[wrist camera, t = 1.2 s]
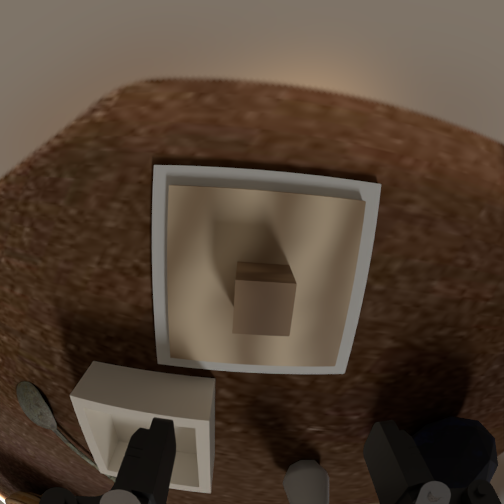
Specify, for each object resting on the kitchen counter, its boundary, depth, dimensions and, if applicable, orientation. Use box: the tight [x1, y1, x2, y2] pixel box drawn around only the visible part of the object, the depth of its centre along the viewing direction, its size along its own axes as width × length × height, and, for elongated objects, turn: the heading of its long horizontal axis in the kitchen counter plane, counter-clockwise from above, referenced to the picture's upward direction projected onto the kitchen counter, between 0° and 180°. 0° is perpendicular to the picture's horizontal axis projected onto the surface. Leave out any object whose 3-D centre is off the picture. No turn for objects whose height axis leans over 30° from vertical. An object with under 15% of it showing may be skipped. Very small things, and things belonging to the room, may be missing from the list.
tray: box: [152, 165, 381, 374], centre depth 26 cm, size 18×18×1 cm
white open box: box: [70, 361, 215, 493], centre depth 28 cm, size 13×13×6 cm
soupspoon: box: [17, 382, 116, 482], centre depth 32 cm, size 22×3×7 cm
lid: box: [167, 185, 366, 367], centre depth 23 cm, size 15×15×5 cm
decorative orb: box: [411, 416, 498, 488], centre depth 26 cm, size 14×15×15 cm
